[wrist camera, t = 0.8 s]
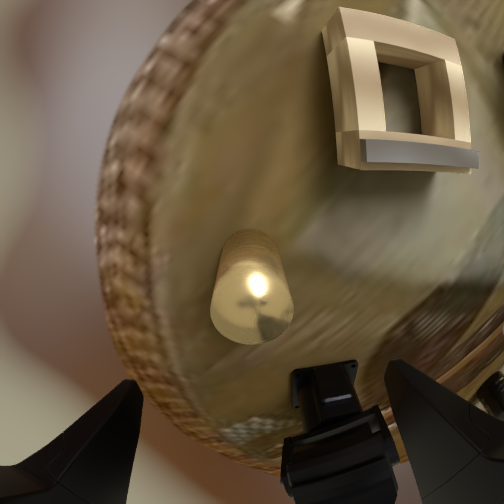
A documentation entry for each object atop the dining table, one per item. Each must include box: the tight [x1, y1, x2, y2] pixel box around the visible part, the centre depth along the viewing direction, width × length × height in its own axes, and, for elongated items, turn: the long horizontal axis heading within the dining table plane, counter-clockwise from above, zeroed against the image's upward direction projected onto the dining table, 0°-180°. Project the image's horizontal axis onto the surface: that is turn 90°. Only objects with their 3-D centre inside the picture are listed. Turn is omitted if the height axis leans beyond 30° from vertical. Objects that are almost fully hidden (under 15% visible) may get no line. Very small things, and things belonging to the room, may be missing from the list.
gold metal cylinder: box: [210, 229, 294, 344], centre depth 16 cm, size 4×4×7 cm
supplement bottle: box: [477, 371, 504, 421], centre depth 25 cm, size 7×7×12 cm
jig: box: [322, 7, 479, 174], centre depth 13 cm, size 10×9×5 cm
